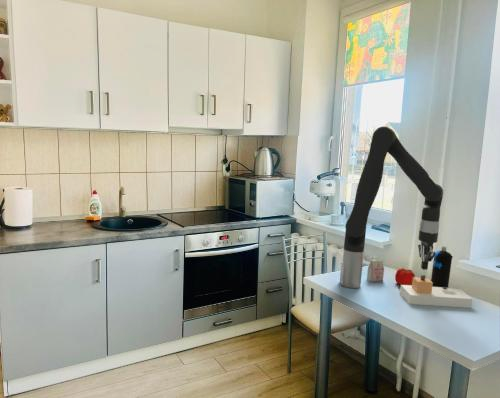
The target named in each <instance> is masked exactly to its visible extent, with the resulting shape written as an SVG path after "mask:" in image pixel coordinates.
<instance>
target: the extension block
mask: <svg viewBox="0 0 500 398" xmlns="http://www.w3.org/2000/svg"><path fill="white" fill-rule="evenodd" d="M399 294H400V295H401V296H402V297H403V298H404V299H405V301H406V302H407V304H409V305H422V306H437V307H454V308H466V309H469V308H470V309H471V308H472V306H473V305H472V304H473V298H472V297H471V296H469V295H468V294H466V293H465V292H464V291H463V290H461V289H460V288H458V287H456V288H454V287H449V288H446V287H432V293H431V294H429V293H416V292H415V291H414V290H413V289H412V285H400V289H399Z"/></svg>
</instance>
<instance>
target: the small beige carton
mask: <svg viewBox="0 0 500 398" xmlns="http://www.w3.org/2000/svg"><path fill="white" fill-rule="evenodd" d="M384 274H385V267H384V261H383V260H382V259H381V260H371V261H370V263H369V264H368V267H367V273H366V280H367V281H369V282H371V283H372V282H383V281H384Z"/></svg>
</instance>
